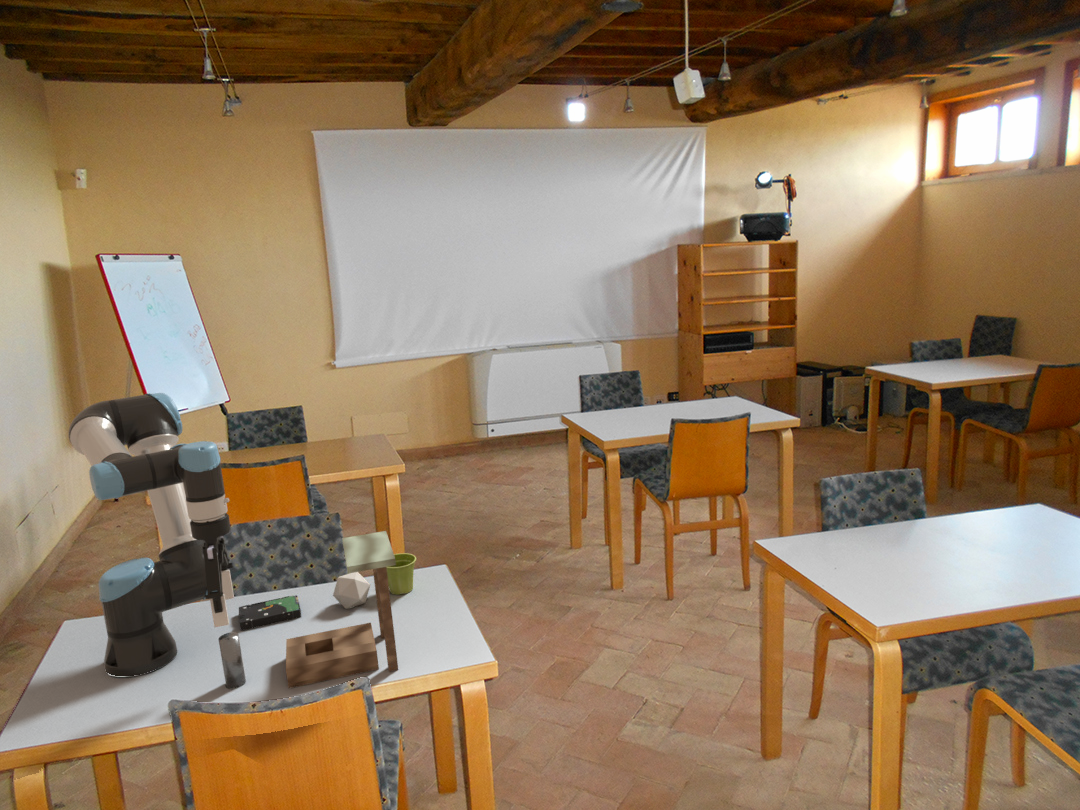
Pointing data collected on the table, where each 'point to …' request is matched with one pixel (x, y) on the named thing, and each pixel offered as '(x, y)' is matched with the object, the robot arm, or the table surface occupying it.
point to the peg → (232, 660)
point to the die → (351, 590)
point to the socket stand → (353, 644)
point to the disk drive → (269, 612)
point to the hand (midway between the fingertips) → (224, 611)
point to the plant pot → (401, 574)
